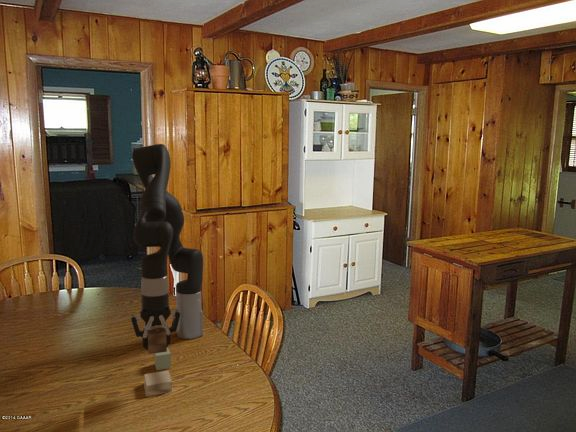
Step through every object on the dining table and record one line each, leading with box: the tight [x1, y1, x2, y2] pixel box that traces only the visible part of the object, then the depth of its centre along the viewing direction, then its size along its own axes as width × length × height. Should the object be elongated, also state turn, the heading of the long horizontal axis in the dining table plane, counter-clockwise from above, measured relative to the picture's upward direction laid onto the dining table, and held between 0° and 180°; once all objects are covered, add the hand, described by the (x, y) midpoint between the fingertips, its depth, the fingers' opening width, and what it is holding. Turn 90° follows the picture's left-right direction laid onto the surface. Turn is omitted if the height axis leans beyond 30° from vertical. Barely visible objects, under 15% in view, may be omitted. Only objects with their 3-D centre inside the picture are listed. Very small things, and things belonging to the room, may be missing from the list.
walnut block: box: [147, 325, 168, 355], centre depth 140 cm, size 5×5×6 cm
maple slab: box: [143, 370, 173, 396], centre depth 142 cm, size 7×7×3 cm
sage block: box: [154, 347, 172, 371], centre depth 155 cm, size 4×4×6 cm
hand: (156, 347), depth 141 cm, fingers closed on walnut block, 5 cm apart
